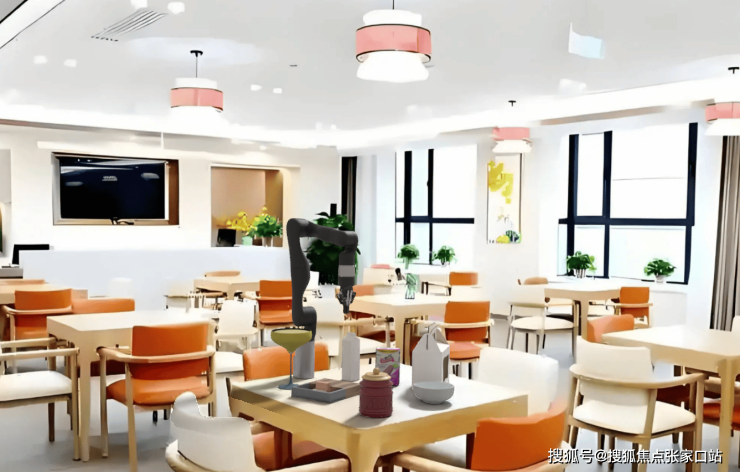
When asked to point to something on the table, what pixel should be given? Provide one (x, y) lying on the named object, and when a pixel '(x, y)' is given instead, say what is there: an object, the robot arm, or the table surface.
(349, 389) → the brown wooden board
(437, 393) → the cereal bowl
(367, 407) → the canister
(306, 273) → the robot arm
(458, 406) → the table surface
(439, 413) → the table surface
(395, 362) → the candy bar box
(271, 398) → the table surface
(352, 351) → the milk
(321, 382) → the terracotta tile
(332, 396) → the box
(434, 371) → the gable box
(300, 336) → the cocktail glass
